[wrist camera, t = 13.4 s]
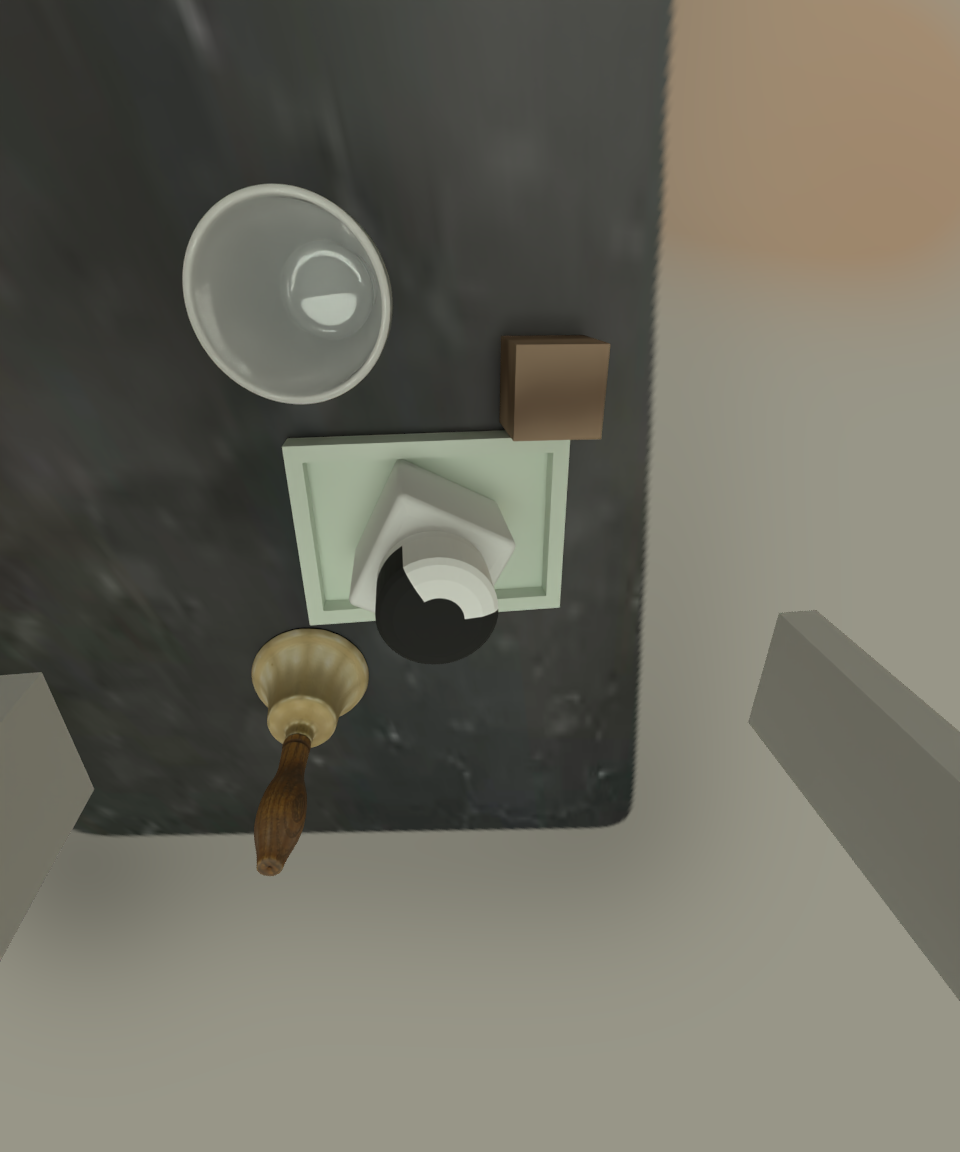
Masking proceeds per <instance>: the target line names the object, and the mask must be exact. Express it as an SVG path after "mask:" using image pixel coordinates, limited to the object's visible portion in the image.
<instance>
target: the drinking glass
mask: <svg viewBox="0 0 960 1152" xmlns="http://www.w3.org/2000/svg"><path fill="white" fill-rule="evenodd" d="M182 285H183V296H184V301H185V306H186V310H187V313H188V317H189V320H190V322H191V325H192V328H193V330H194V332H195V334H196V336H197V338H198V340H199V341H200V343H201V345H202V347H203V348H204V350H205V351H206V352H207V354H208V355H209V357H210V358H211V359H212V360H213V361H214V363H215V364H216V365H217V366H218V367H219V368H220V369H221V370H222V371H223V372H224V373H225V374H226V375H227V376H229V377H230V378H231V379H232V380H234V381H235V382H236V383H238V384H239V385H240V386H242V387H244V388H245V389H247V390H249V391H251V392H253V393H255V394H257V395H259V396H262V397H264V398H267V399H270V400H273V401H277V402H282V403H288V404H313V403H319V402H323V401H327V400H330V399H333V398H335V397H337V396H340V395H342V394H344V393H345V392H347V391H349V390H350V389H352V388H353V387H354V386H356V385H357V384H358V383H359V382H360V381H361V380H363V379H364V377H365V376H366V375H367V374H368V373H369V372H370V370H371V369H372V368H373V366H374V365H375V363H376V362H377V360H378V358H379V357H380V355H381V353H382V351H383V349H384V347H385V345H386V342H387V339H388V336H389V333H390V328H391V324H392V317H393V294H392V286H391V282H390V277H389V274H388V271H387V267H386V265H385V262H384V260H383V258H382V255H381V254H380V252H379V250H378V248H377V246H376V245H375V243H374V241H373V240H372V238H371V237H370V236H369V234H368V233H367V232H366V230H365V229H364V228H363V227H362V226H361V225H360V224H359V223H358V222H357V221H356V220H355V219H354V218H353V217H352V216H351V215H350V214H349V213H347V212H346V211H345V210H343V209H342V208H341V207H339V206H338V205H336V204H335V203H333V202H331V201H330V200H328V199H326V198H325V197H323V196H321V195H318V194H316V193H314V192H312V191H309V190H306V189H304V188H300V187H296V186H292V185H286V184H259V185H254V186H249V187H246V188H243V189H240V190H237V191H235V192H233V193H231V194H229V195H227V196H226V197H224V198H223V199H221V200H220V201H218V202H217V203H216V204H215V205H213V206H212V207H211V208H210V209H209V210H208V211H207V212H206V214H205V215H204V216H203V217H202V219H201V220H200V221H199V223H198V224H197V226H196V228H195V230H194V231H193V234H192V236H191V238H190V240H189V243H188V246H187V249H186V253H185V258H184V263H183V273H182Z"/></svg>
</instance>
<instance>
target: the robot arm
mask: <svg viewBox="0 0 960 1152" xmlns="http://www.w3.org/2000/svg"><path fill="white" fill-rule="evenodd" d="M749 724H750V725H751V726H752V728H753V729H754V730H755V731H756V733H757V734H758V736H759V737H760V738H761V740H762V741H763V742H764V743H765V745H766V746H767V747H768V749H769V750H770V751H771V753H772V754H773V755H774V757H775V758H776V759H777V761H778V762H779V763H780V765H781V766H782V767H783V769H784V770H785V771H786V773H787V774H788V775H789V776H790V778H791V779H792V780H793V782H794V783H795V784H796V786H797V787H798V788H799V790H800V791H801V792H802V793H803V795H804V796H805V798H806V799H807V800H808V802H809V803H810V804H811V805H812V807H813V808H814V809H815V811H816V812H817V813H818V815H819V816H820V817H821V819H822V820H823V821H824V823H825V824H826V825H827V827H828V828H829V829H830V831H831V832H832V833H833V835H834V836H835V837H836V838H837V840H838V841H839V842H840V844H841V845H842V846H843V848H844V849H845V850H846V852H847V853H848V854H849V856H850V857H851V858H852V860H853V861H854V862H855V864H856V865H857V866H858V868H859V869H860V870H861V871H862V873H863V874H864V875H865V877H866V878H867V879H868V881H869V882H870V883H871V884H872V886H873V887H874V889H875V890H876V891H877V892H878V894H879V895H880V896H881V898H882V899H883V900H884V902H885V903H886V904H887V906H888V907H889V908H890V910H891V911H892V912H893V914H894V915H895V916H896V918H897V919H898V920H899V921H900V923H901V924H902V926H903V927H904V928H905V929H906V931H907V932H908V933H909V935H910V936H911V937H912V939H913V940H914V941H915V943H916V944H917V945H918V947H919V948H920V949H921V951H922V952H923V953H924V955H925V956H926V957H927V958H928V960H929V961H930V962H931V964H932V965H933V966H934V968H935V969H936V970H937V971H938V973H939V974H940V976H941V977H942V978H943V980H944V981H945V982H946V983H947V985H948V986H949V988H950V989H951V990H952V991H953V993H954V994H955V995H956V997H957V998H958V999H959V1001H960V732H959V731H958V730H957V729H956V728H955V727H953V726H952V725H951V724H950V723H949V722H948V721H946V720H945V719H944V718H943V717H942V716H940V715H939V714H938V713H937V712H936V711H935V710H933V709H932V708H931V707H930V706H929V705H927V704H926V703H925V702H924V701H923V700H922V699H920V698H919V697H918V696H917V695H916V694H914V693H913V692H912V691H911V690H910V689H909V688H907V687H906V686H905V685H904V684H903V683H902V682H900V681H899V680H898V679H897V678H896V677H894V676H893V675H892V674H891V673H890V672H888V671H887V670H886V669H885V668H884V667H883V666H881V665H880V664H879V663H878V662H877V661H875V660H874V659H873V658H872V657H871V656H870V655H868V654H867V653H866V652H865V651H864V650H863V649H861V648H860V647H859V646H858V645H857V644H855V643H854V642H853V641H852V640H851V639H850V638H848V637H847V636H846V635H845V634H844V633H842V632H841V631H840V630H839V629H838V628H837V627H835V626H834V625H833V624H832V623H831V622H829V621H828V620H827V619H826V618H825V617H824V616H822V615H821V614H820V613H819V612H818V611H817V610H811V611H798V612H786V613H779V615H778V619H777V622H776V626H775V629H774V633H773V637H772V640H771V643H770V647H769V650H768V654H767V658H766V661H765V665H764V668H763V672H762V676H761V679H760V683H759V686H758V690H757V693H756V697H755V700H754V704H753V707H752V711H751V715H750V718H749ZM93 790H94V788H93V785H92V783H91V781H90V779H89V777H88V774H87V772H86V770H85V768H84V765H83V763H82V761H81V759H80V757H79V754H78V752H77V750H76V748H75V745H74V743H73V741H72V739H71V737H70V734H69V732H68V730H67V728H66V725H65V723H64V721H63V719H62V717H61V714H60V712H59V710H58V708H57V705H56V703H55V701H54V699H53V696H52V694H51V692H50V690H49V688H48V685H47V683H46V681H45V679H44V676H43V674H42V672H39V673H26V674H14V675H1V676H0V961H1V959H2V957H3V955H4V954H5V952H6V949H7V948H8V946H9V944H10V943H11V941H12V939H13V937H14V935H15V933H16V932H17V930H18V928H19V926H20V924H21V922H22V921H23V919H24V917H25V915H26V913H27V911H28V910H29V908H30V906H31V904H32V902H33V900H34V899H35V897H36V895H37V893H38V891H39V889H40V887H41V886H42V884H43V882H44V880H45V878H46V876H47V874H48V873H49V871H50V869H51V867H52V865H53V864H54V862H55V860H56V858H57V856H58V854H59V853H60V851H61V849H62V847H63V845H64V843H65V842H66V840H67V838H68V836H69V834H70V832H71V831H72V829H73V827H74V825H75V823H76V821H77V819H78V818H79V816H80V814H81V812H82V810H83V808H84V807H85V805H86V803H87V801H88V799H89V797H90V796H91V794H92V792H93Z"/></svg>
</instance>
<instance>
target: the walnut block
mask: <svg viewBox="0 0 960 1152" xmlns="http://www.w3.org/2000/svg"><path fill="white" fill-rule="evenodd" d="M609 353H610V344H609V343H606V342H603V341H600V340H597V339H594V338H591V337H587V336H584V335H555V336H501V371H500V423H501V425H502V426H503V427H504V429H505V430H506V432H507V433H508V434H509V436H510V437H511V439H512V440H513V441H547V440H584V439H601V435H602V425H603V415H604V404H605V394H606V384H607V374H608V363H609Z"/></svg>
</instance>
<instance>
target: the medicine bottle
mask: <svg viewBox="0 0 960 1152" xmlns="http://www.w3.org/2000/svg"><path fill="white" fill-rule="evenodd" d="M515 547H516V544H515V542H514V539H513V537H512V535H511V533H510V531H509V529H508V526H507V524H506V522H505V520H504V518H503V515H502V513H501V511H500V509H499V507H498V504H497V503H496V502H495V501H493V500H491V499H489V498H486V497H484V496H482V495H480V494H478V493H476V492H473V491H471V490H469V489H467V488H465V487H462V486H460V485H458V484H456V483H454V482H451V481H449V480H447V479H445V478H443V477H441V476H438V475H436V474H434V473H432V472H430V471H427V470H425V469H423V468H421V467H419V466H416V465H414V464H412V463H410V462H408V461H406V460H403V459H400V460H397V462H396V463H395V465H394V467H393V469H392V472H391V474H390V476H389V478H388V480H387V482H386V485H385V487H384V489H383V491H382V493H381V495H380V498H379V500H378V502H377V504H376V506H375V508H374V511H373V513H372V515H371V517H370V519H369V521H368V524H367V526H366V528H365V530H364V532H363V534H362V537H361V539H360V541H359V543H358V545H357V547H356V550H355V557H354V564H353V572H352V579H351V587H350V594H349V601H350V603H351V604H352V605H354V606H357V607H359V608H362V609H365V610H368V611H370V612H373V613H375V619H376V624H377V628H378V630H379V633H380V635H381V637H382V638H383V640H384V641H385V642H386V644H387V645H388V646H389V647H390V648H391V649H392V650H394V651H395V652H396V653H398V654H399V655H401V656H402V657H404V658H407V659H409V660H412V661H415V662H418V663H424V664H444V663H450V662H454V661H457V660H460V659H462V658H464V657H466V656H468V655H470V654H472V653H473V652H475V651H476V650H477V649H479V648H480V647H481V646H482V645H483V644H484V643H485V642H486V640H487V639H488V638H489V637H490V635H491V633H492V632H493V630H494V627H495V625H496V622H497V618H498V599H497V595H496V592H495V589H494V585H495V583H496V582H497V580H498V578H499V576H500V575H501V573H502V571H503V569H504V568H505V566H506V564H507V562H508V561H509V559H510V557H511V555H512V554H513V552H514V550H515Z"/></svg>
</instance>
